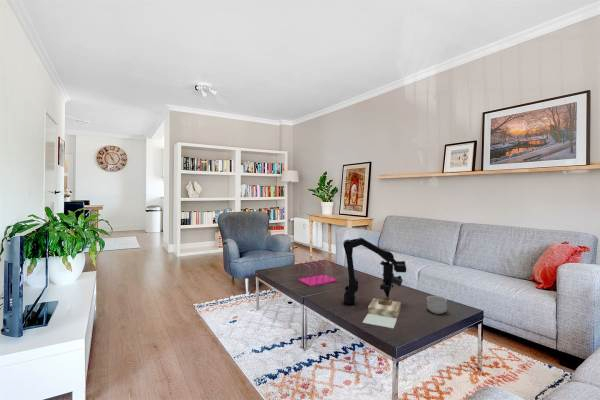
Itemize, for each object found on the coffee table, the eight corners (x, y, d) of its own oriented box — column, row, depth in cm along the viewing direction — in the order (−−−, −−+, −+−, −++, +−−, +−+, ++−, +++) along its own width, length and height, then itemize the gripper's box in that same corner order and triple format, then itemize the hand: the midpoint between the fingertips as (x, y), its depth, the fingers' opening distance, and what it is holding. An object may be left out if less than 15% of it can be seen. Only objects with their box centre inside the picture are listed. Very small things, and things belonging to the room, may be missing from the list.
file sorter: (337, 282, 236) (337, 261, 235) (309, 287, 223) (309, 265, 223) (324, 276, 251) (324, 257, 250) (297, 281, 238) (297, 261, 238)
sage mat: (362, 322, 163) (362, 322, 163) (367, 313, 175) (367, 313, 175) (393, 328, 156) (393, 328, 156) (397, 318, 168) (397, 318, 168)
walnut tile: (378, 304, 179) (378, 300, 179) (380, 300, 185) (380, 297, 184) (390, 305, 176) (390, 302, 176) (392, 302, 182) (392, 298, 182)
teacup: (440, 317, 170) (440, 303, 170) (422, 311, 179) (422, 297, 178) (453, 311, 178) (453, 297, 178) (435, 305, 187) (435, 292, 187)
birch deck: (367, 313, 175) (367, 306, 175) (373, 304, 189) (373, 298, 189) (397, 318, 168) (397, 311, 168) (400, 308, 182) (400, 301, 182)
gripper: (399, 277, 176) (399, 304, 176) (403, 269, 193) (403, 294, 193) (380, 275, 181) (379, 301, 181) (385, 267, 197) (385, 291, 198)
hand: (387, 297), depth 188 cm, fingers closed
